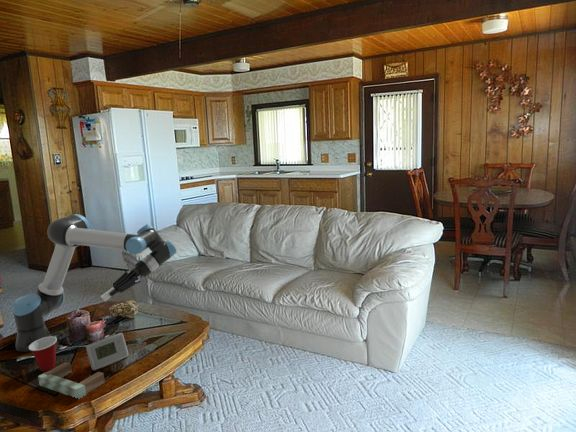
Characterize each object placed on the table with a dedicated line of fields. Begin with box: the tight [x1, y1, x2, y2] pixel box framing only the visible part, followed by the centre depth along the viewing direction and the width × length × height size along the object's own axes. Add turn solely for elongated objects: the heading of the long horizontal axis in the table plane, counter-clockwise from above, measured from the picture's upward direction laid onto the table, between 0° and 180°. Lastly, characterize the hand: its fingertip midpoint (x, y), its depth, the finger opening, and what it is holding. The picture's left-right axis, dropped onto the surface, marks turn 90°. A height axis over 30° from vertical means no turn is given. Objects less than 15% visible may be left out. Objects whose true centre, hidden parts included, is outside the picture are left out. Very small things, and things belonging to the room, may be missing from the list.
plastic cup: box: [29, 335, 58, 372], centre depth 188 cm, size 11×11×12 cm
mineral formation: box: [108, 299, 140, 319], centre depth 240 cm, size 8×13×15 cm
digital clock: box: [85, 332, 129, 371], centre depth 190 cm, size 16×9×11 cm, turn 123°
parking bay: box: [37, 361, 106, 400], centre depth 175 cm, size 24×12×4 cm, turn 62°
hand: (102, 299), depth 197 cm, fingers closed
